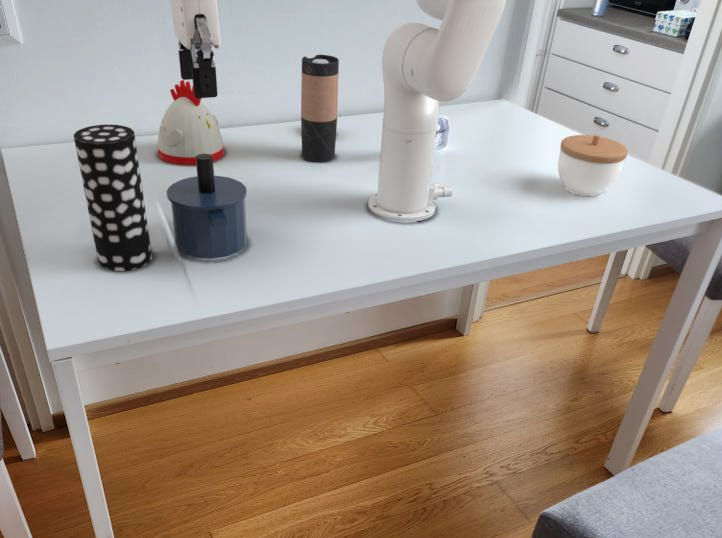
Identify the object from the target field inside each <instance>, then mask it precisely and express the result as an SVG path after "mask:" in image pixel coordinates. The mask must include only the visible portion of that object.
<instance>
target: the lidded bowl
mask: <svg viewBox="0 0 722 538" xmlns="http://www.w3.org/2000/svg"><path fill="white" fill-rule="evenodd" d="M628 152H629V149H628V148H627V146H625V144H623V143H621V142H619V141H617V140H615V139H611V138H608V137H604V136H601V135H600V134H593V135H592V134H591V135H590V134H575V135H570V136H566V137H564V138H563V139H562V140H561V141H560V149H559V154H558V160H557V173H558V176H559V179H560V182H561V183H562V184H563V186H564V189H565V190H566V191H567V192H569V193H570V194H572V195H576V196H580V197H597V196H599V195H601V193H603V192H604V191H606V190H607V189H609V188H610V187H611V186H612V185H613V184H614V183H615V182H616V181H617V179H618V177H619V175H620V173H621V171H622V169H623V166H624V164H625V161H626V158H627V156H628Z"/></svg>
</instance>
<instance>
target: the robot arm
mask: <svg viewBox="0 0 722 538" xmlns="http://www.w3.org/2000/svg"><path fill="white" fill-rule="evenodd" d="M415 2H416V4H417V6H418V8H419V9H420V10H421V11H422V12H423V13H424V14H426V15H428V16H429V17H431V18H433V19H436V20H439V21H441V23H440V26H439V28H436V27H434V26H430V25H427V24H424V23H419V22H408V23H404V24H401V25H399V26H397V27H396V28H395V29H394V30H392V32H391V33H390V34H389V36H388V37H387V39H386V41H385V43H384V46H383V50H382V57H381V67H382V68H381V69H382V81H383V93H384V94H383V97H384V98H383V100H384V101H383V117H382V125H381V126H382V128H381V141H380V154H379V165H378V167H379V168H378V169H379V170H378V180H377V192H375V193H374V194H372V195H371V196H370V197H369V199H368V201H367V202H368V204H367V206H368V208H369V209H370V212H373V213H374V214H375V215H377V216H379V217H382V218H384V219H389V220H393V221H394V220H395V221H402V222H411V221H415V222H421V221H424V220H427V219H429V218H431V217H432V216H434V214H435V213H436V203H435V201H436V200H437V199H438V198H443V199H444V198H449V197H452V196H453V188H452V186H451V185H447V186H441V185H440V183H432V184H431V179H432V170H433V165H434V164H433V163H434V155H435V147H436V139H437V131H438V125H439V115H440V113H439V112H440V109H439V108H440V106H439V105H440V104H439V102H442V103H443V102H444V103H447V102H452V101H455V100H457V99H458V98H460V97H461V96H462V95H464V94H465V92H466V91H467V90H468V89H469V87H470V86H471V85H472V83H473V81H474V79H475V77H476V76H477V73H478V71H479V69H480V67H481V64H482V62H483V60H484V58H485V55H486V53H487V51H488V49H489V46H490V44H491V41H492V40H493V38H494V35H495V33H496V31H497V29H498V26H499V23H500V22H501V18H502V16H503V13H504V10H505V6H506V2H507V0H415ZM170 6H171V14H172V15H171V17H172V21H173V22H172V23H173V29H174V33H175V36H176V38H177V41H178V43H177V44H178V49H179V50H178V60H179V69H180V71H179V72H180V78H181V80H184V81H186V80H187V81H189V80H192V87H193V89H194V96H195V97H196V98H201V99H209V98H210V99H212V98H217V97H218V81H217V80H218V79H217V67H216V61H215V53H214V50H213V48H214V49H219V48H221V46H222V39H221V38H222V37H221V28H220V17H219V9H218V0H170Z"/></svg>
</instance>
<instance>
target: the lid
mask: <svg viewBox="0 0 722 538" xmlns="http://www.w3.org/2000/svg"><path fill="white" fill-rule="evenodd" d="M195 166H196V176H189V177H185V178H183V179H180V180H178V181H175V182H173V183H172V184H171V185H169V187H168V188H167V190H166V197H167V200H168V201H169V202H170V204H171V203H173V204H174V205H176V206H179V207H182V208H186V209H191V210H217V209H223V208H227V207H231V206H234V205H236V204H238V203H240V202H241V201H242V200H244V198H245V199H246V197H247V187H246V185H245V184H244V183H243V182H241V181H240V180H237V179H235V178H232V177H228V176H222V175H215V169H214V162H213V156H212V155H210V154H199V155H197V156H196V165H195Z"/></svg>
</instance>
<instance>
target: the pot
mask: <svg viewBox="0 0 722 538" xmlns="http://www.w3.org/2000/svg"><path fill="white" fill-rule="evenodd" d="M170 205H171V213H172V221H173V223H172V224H173V230H174V231H173V232H174V239H175V244H176V250H177V251H178V252H181V253H183V254H184V255H186V256H190V257H194V258H198V259H218V258H225V257H229V256H232V255H234V254H238V253H239V252H240V251H241V250H243V249H244V248H245V247H246V245H247V241H248V237H247V236H248V235H247V215H246V214H247V213H246V197H245V198H244V200H242V201H241V202H240V203H238V204H236V205H234V206H231V207H227V208H223V209H217V210H191V209H186V208H182V207H179V206H176V205H174V204H173V203H171V202H170Z"/></svg>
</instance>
